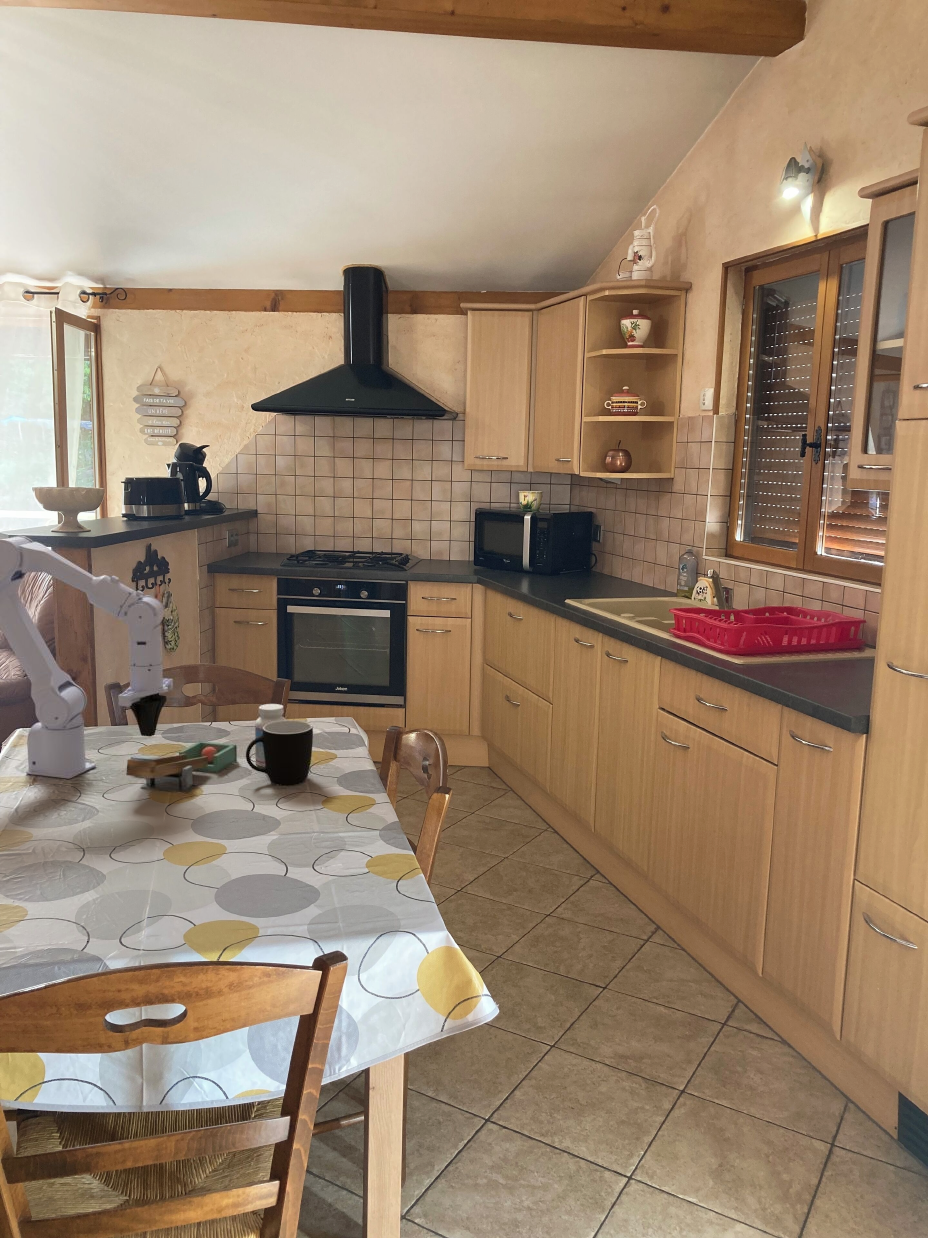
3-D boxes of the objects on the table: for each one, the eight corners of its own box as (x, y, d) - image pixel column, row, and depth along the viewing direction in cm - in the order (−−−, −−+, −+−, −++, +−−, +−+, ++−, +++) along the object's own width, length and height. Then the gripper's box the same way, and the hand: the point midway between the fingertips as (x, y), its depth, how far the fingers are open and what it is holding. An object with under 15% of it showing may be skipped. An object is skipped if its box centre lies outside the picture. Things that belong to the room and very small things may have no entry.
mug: (308, 770, 178) (308, 718, 176) (317, 786, 169) (316, 731, 168) (243, 776, 174) (242, 723, 172) (249, 792, 165) (248, 736, 164)
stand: (140, 788, 166) (139, 766, 165) (153, 781, 170) (152, 759, 169) (186, 793, 164) (185, 771, 163) (198, 786, 168) (197, 764, 167)
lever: (82, 773, 160) (83, 754, 160) (142, 762, 178) (144, 745, 178) (155, 782, 157) (156, 762, 157) (209, 769, 174) (210, 752, 174)
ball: (203, 743, 180) (208, 752, 182) (196, 755, 178) (201, 765, 180) (217, 744, 180) (222, 754, 182) (211, 757, 178) (216, 766, 180)
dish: (179, 768, 177) (178, 752, 177) (199, 757, 184) (199, 741, 184) (217, 772, 175) (217, 756, 175) (236, 761, 182) (236, 745, 182)
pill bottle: (270, 770, 177) (269, 712, 175) (248, 763, 181) (248, 707, 179) (294, 762, 182) (293, 706, 180) (273, 756, 186) (272, 701, 184)
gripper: (142, 673, 165) (144, 748, 167) (186, 657, 178) (188, 727, 181) (107, 669, 166) (109, 744, 168) (153, 654, 180) (155, 723, 182)
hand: (147, 735), depth 175 cm, fingers closed
